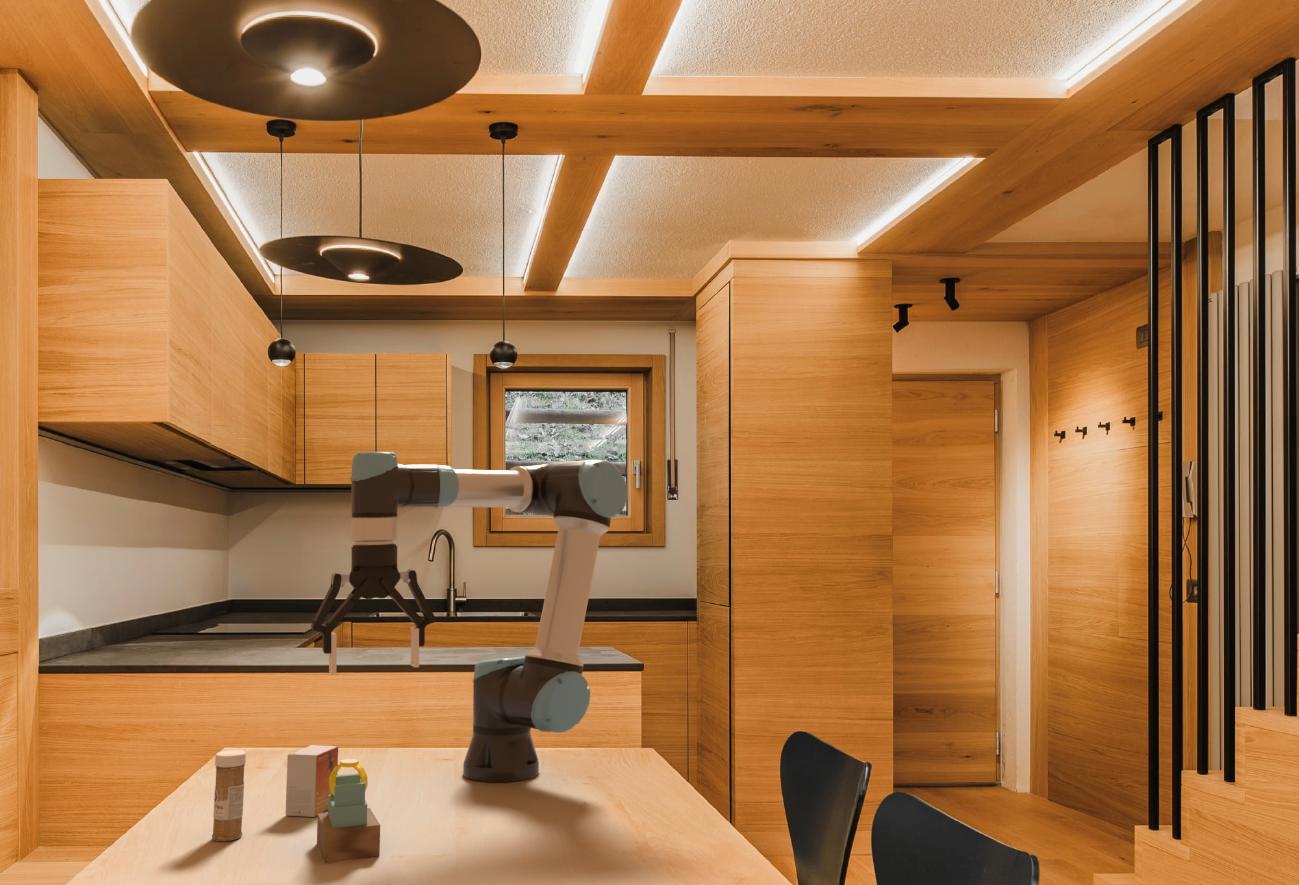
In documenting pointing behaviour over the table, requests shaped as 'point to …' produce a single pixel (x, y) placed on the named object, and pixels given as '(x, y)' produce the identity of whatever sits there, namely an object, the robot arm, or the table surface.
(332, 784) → the watch
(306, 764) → the small box
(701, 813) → the table surface
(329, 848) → the bottom block
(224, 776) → the sprinkles bottle
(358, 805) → the top block
